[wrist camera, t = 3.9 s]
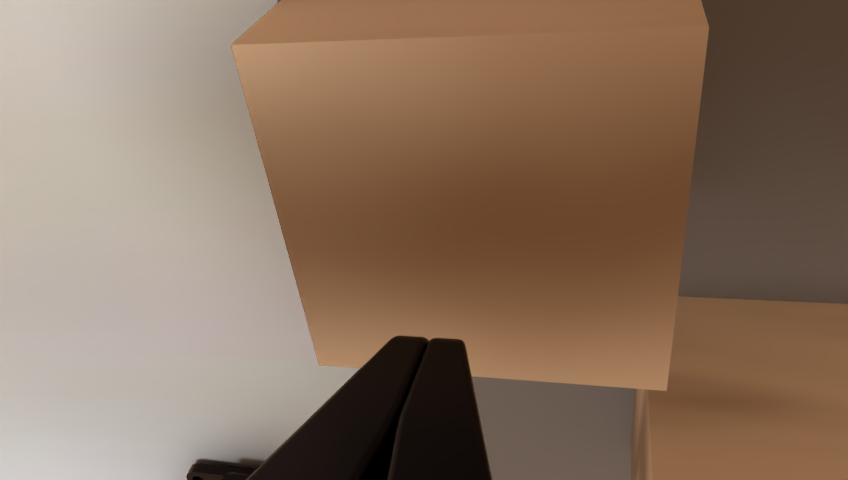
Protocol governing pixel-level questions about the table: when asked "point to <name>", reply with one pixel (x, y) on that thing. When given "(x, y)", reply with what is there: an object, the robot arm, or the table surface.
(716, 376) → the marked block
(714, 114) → the mat
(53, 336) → the table surface
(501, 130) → the plain block
